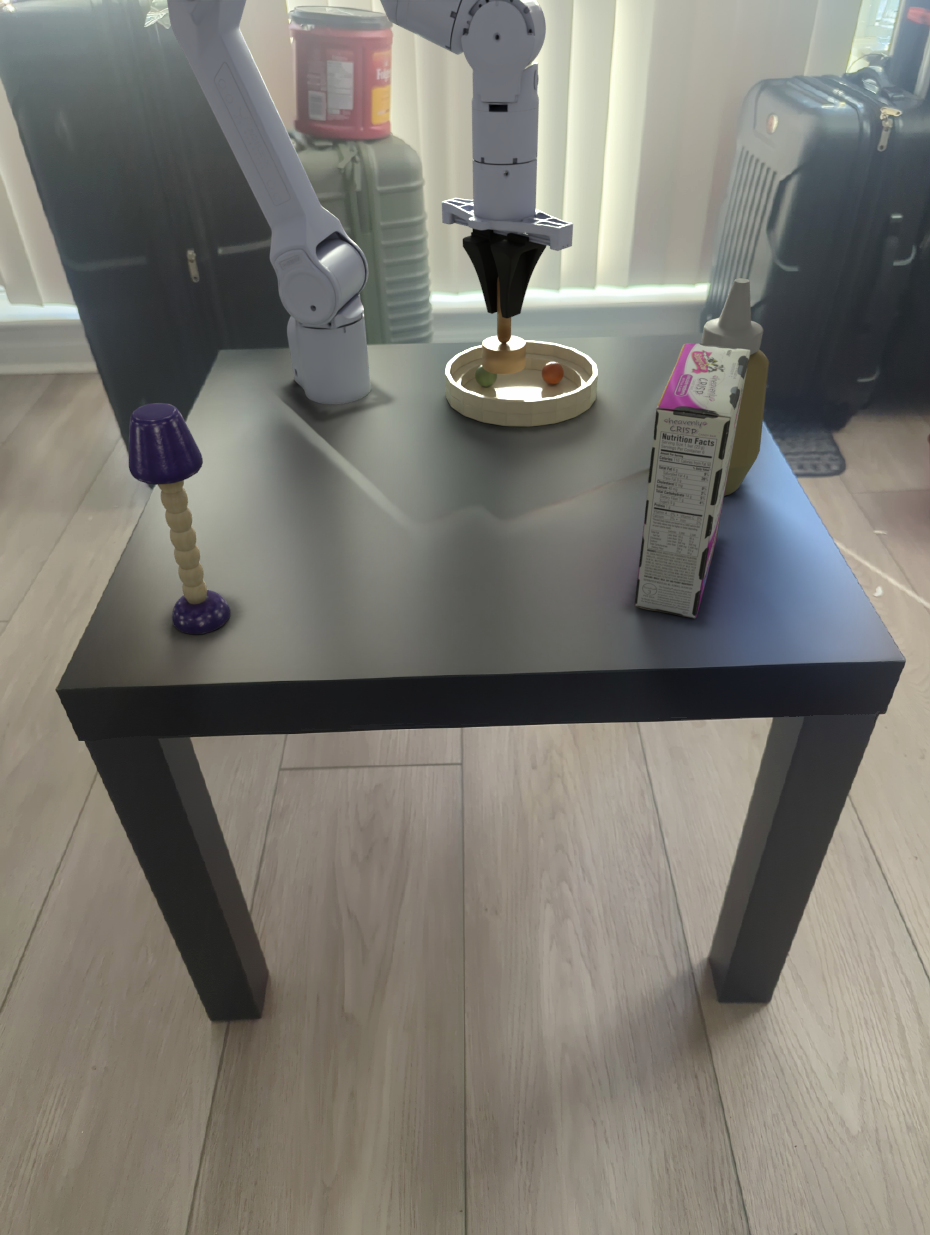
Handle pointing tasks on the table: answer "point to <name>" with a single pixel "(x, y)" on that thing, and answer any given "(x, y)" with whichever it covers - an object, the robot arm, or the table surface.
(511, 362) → the wooden knob stamp
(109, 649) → the table surface
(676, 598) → the candy bar box
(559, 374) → the orange bead
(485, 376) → the green bead
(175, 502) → the toy lamp
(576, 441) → the table surface
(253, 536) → the table surface
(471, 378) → the bowl
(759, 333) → the squeeze bottle
